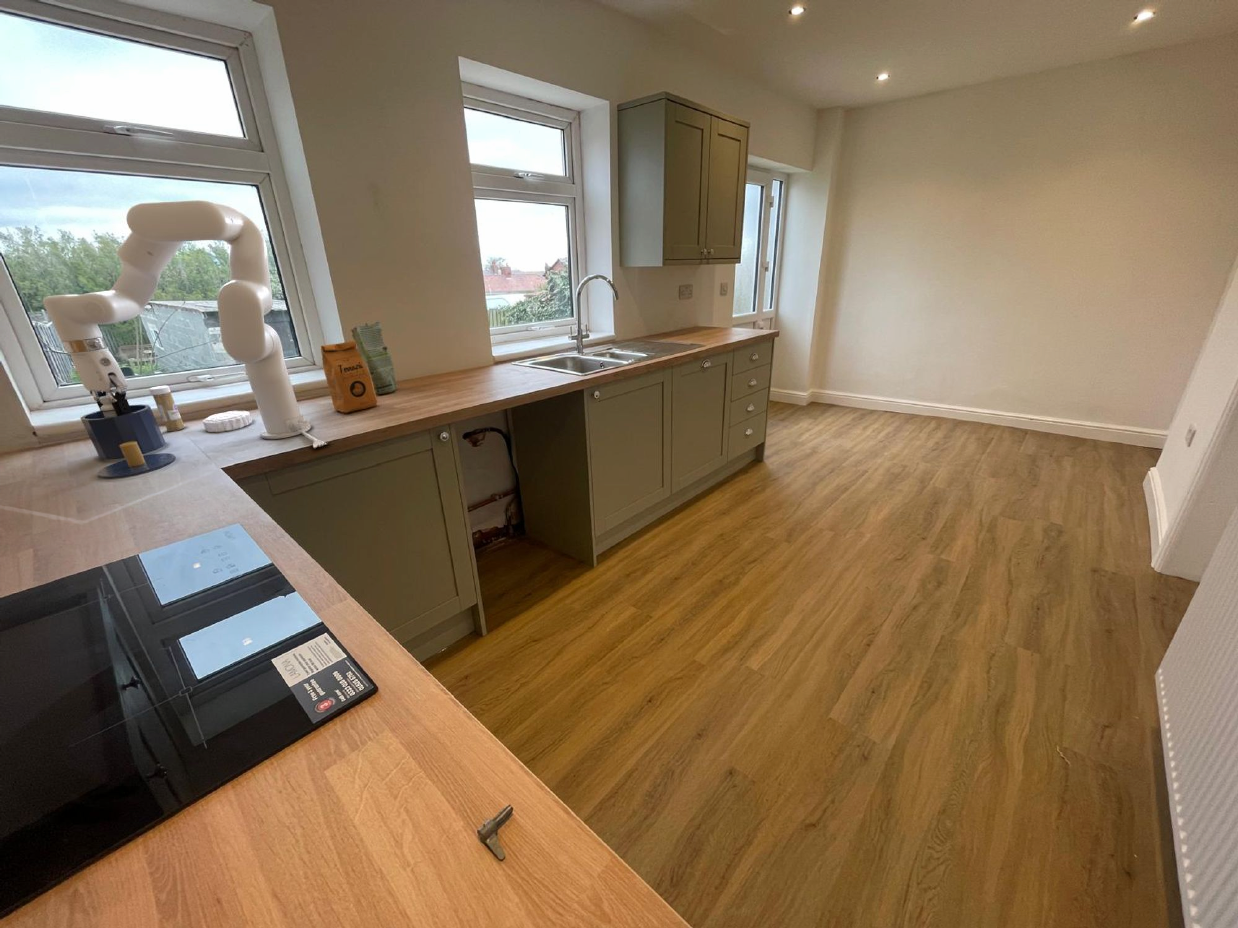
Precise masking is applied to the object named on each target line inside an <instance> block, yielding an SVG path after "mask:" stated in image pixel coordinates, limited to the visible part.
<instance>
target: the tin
mask: <svg viewBox="0 0 1238 928" xmlns="http://www.w3.org/2000/svg"><path fill="white" fill-rule="evenodd" d="M129 405H130V408H131V410H132V412H133V413H129V414H126V415H120V416H115V417H109V418H105V417H104V416H103V415H102V413H101V410H100V409H99V410H97V411H93V412H90V413H87V414H84V415H82V416H81V417H79V418H80V421H81V423H82V424H83V427H84V429H85V432H86V433H87V435H88V437H89V439H90V441H91V443H92V446H93V447H94V449H95V451H96V453H97V455H98V457H99V459H100V460H103V461H110V460H113V461H114V460H121V459H122V460H123V459H125V457H124V454H123V452H122V450H121V448H120V445H121V444H123V443H127V442H137V444H138V446H139V448H140V450H141V453H142V455H147V454H148V453H151V452H154V451H157V450H160V449H161V448H163V447H165V445H166V444H167V441H166V440H165V437H164V436H163V434H162V431H161V428H160V427H159V424H158V422H157V419H156V417H155V415H154V412H153V410H152V408H151V406H150V405H149V404H129Z"/></svg>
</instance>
